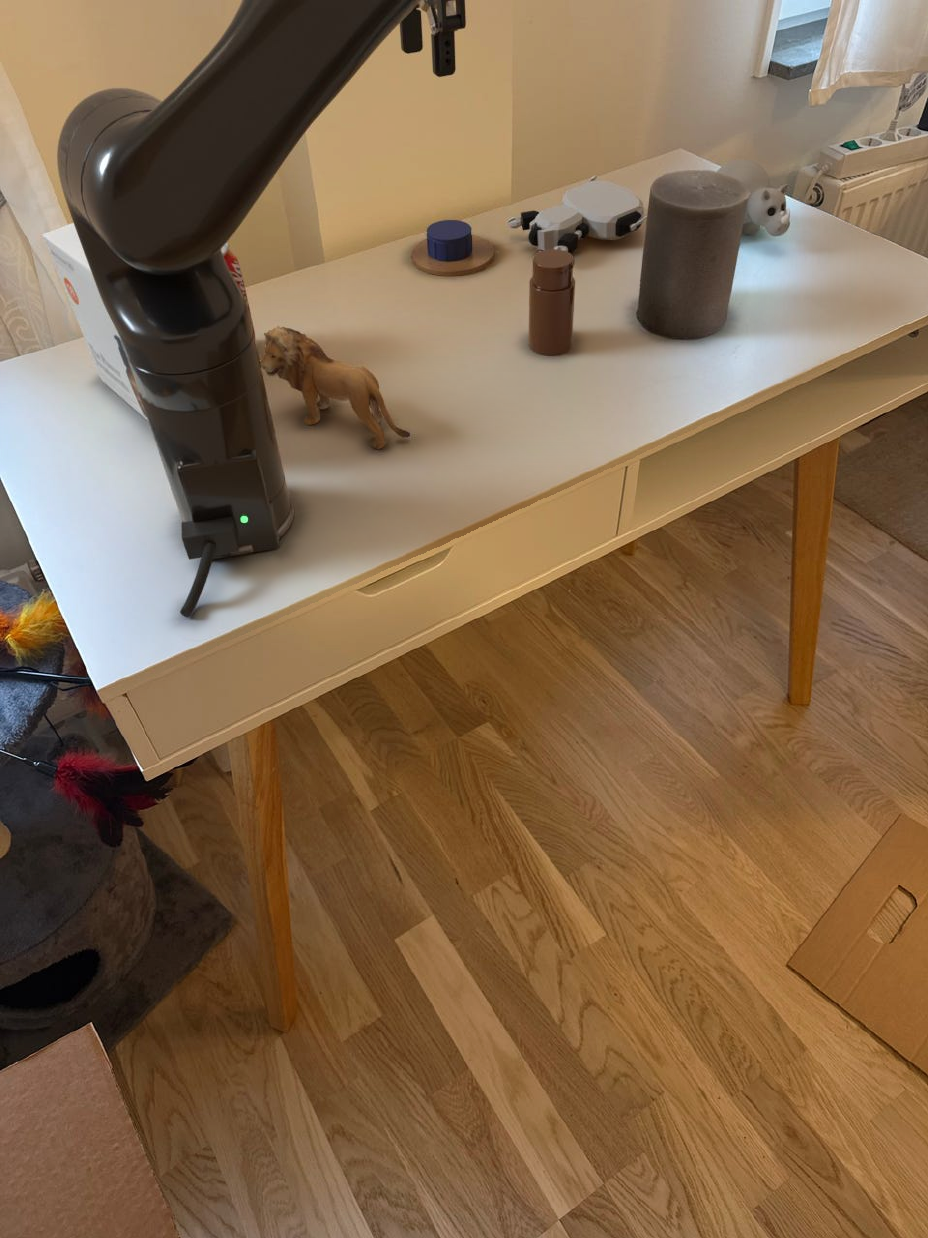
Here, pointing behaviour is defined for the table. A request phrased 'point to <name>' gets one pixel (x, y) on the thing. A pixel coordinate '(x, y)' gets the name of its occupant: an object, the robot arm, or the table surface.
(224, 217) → the robot arm
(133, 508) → the table surface
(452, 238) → the lid
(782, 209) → the toy rhinoceros
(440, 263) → the coaster
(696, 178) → the pillar candle
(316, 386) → the lion figurine
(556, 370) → the table surface
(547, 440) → the table surface
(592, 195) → the robot toy
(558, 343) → the jar
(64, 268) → the skincare box
